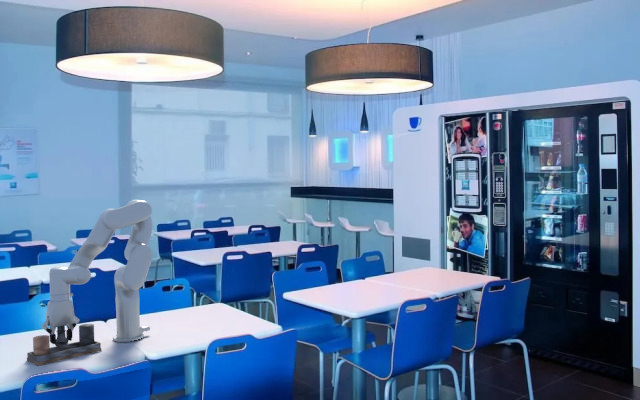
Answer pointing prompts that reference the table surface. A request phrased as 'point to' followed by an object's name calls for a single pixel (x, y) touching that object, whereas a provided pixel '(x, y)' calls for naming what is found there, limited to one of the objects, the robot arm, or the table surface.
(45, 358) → the condiment rail
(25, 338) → the table surface
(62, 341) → the salt shaker
